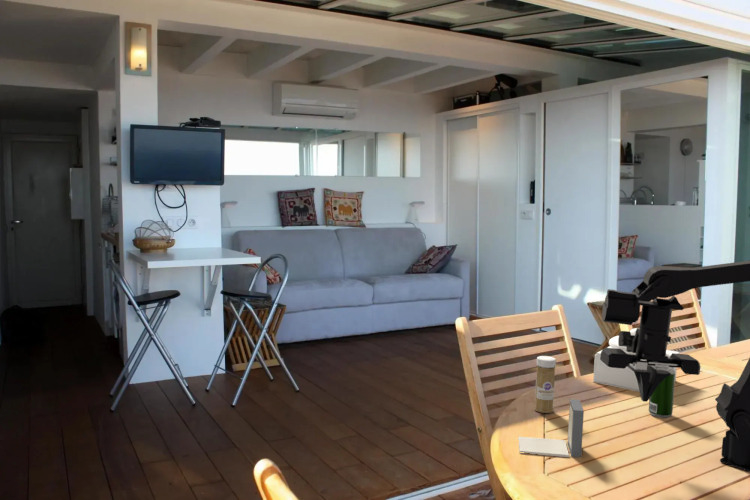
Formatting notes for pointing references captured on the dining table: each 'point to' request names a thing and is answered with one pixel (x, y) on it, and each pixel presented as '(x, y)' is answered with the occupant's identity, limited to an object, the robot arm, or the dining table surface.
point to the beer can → (663, 397)
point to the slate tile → (575, 428)
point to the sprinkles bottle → (545, 384)
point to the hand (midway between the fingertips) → (644, 400)
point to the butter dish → (619, 369)
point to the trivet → (543, 446)
